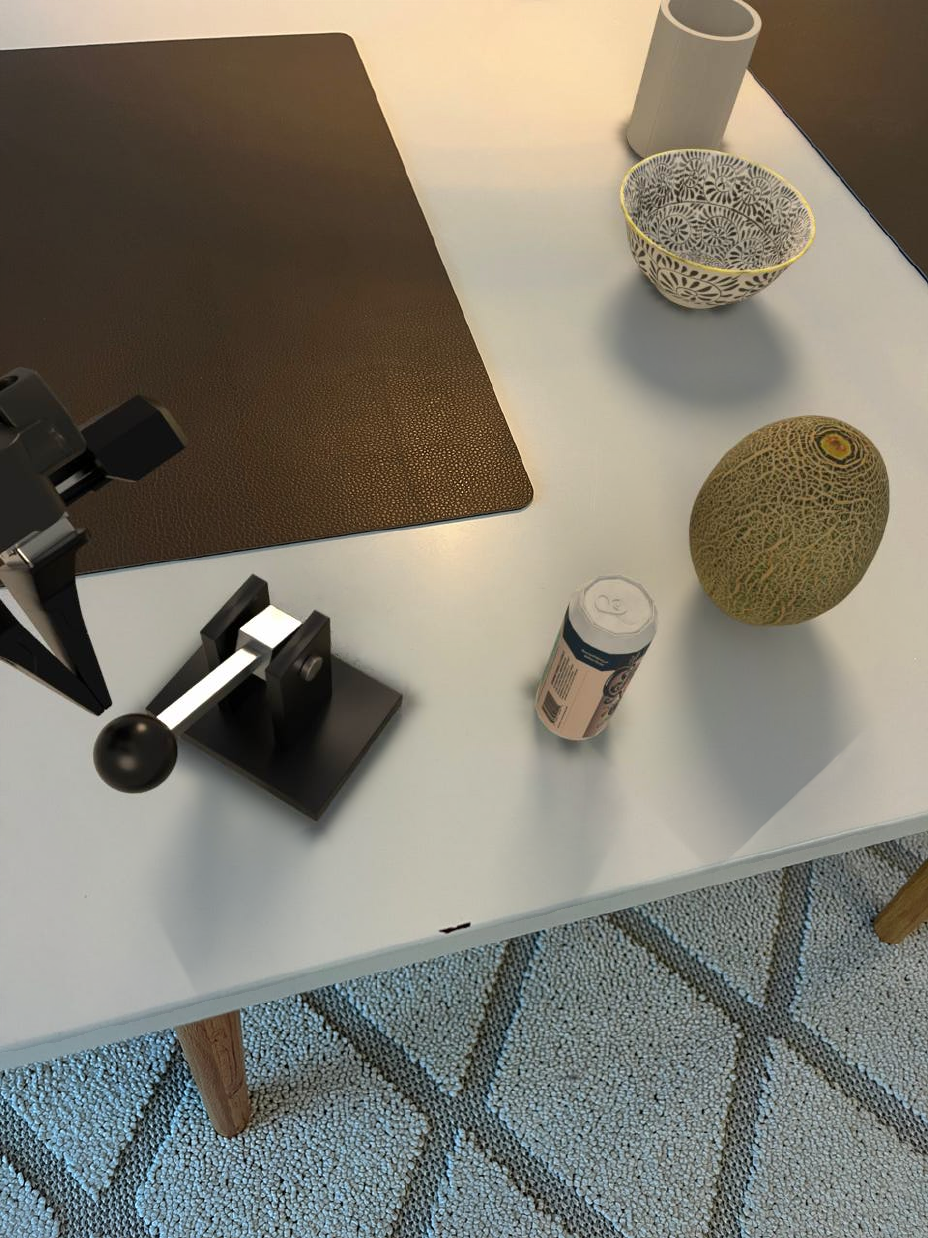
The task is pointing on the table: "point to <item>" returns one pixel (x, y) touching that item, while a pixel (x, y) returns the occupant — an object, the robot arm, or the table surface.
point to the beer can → (595, 655)
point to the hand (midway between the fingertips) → (102, 710)
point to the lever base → (284, 708)
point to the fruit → (790, 520)
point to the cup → (692, 75)
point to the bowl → (712, 225)
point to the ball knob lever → (185, 709)
